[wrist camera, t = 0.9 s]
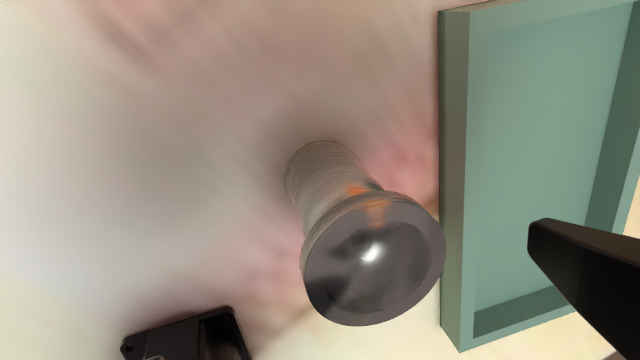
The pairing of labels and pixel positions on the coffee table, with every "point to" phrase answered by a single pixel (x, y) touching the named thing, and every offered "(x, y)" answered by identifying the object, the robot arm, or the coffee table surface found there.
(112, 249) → the coffee table surface
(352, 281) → the grey flanged cylinder
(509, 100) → the tray
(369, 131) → the coffee table surface
